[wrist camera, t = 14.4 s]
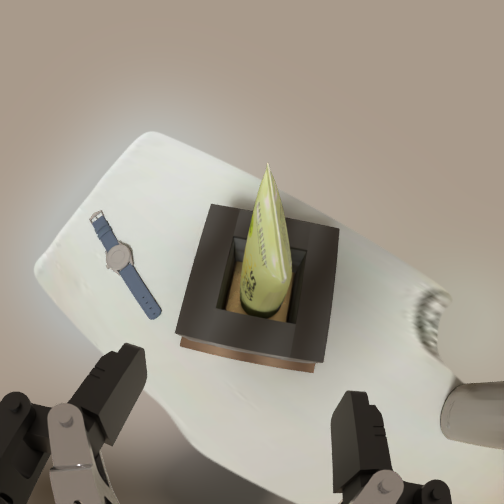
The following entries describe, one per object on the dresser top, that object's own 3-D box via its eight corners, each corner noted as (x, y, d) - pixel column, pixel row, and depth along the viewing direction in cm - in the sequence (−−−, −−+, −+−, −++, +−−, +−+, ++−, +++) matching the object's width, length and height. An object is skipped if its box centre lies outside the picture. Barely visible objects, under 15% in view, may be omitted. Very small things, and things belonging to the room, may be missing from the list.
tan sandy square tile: (292, 274, 36) (293, 272, 35) (283, 330, 33) (284, 329, 32) (237, 263, 36) (237, 261, 35) (224, 318, 34) (224, 317, 33)
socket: (327, 253, 39) (348, 222, 31) (310, 372, 33) (331, 374, 25) (212, 230, 40) (204, 194, 31) (182, 346, 34) (162, 340, 25)
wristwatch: (104, 206, 41) (102, 203, 40) (169, 308, 36) (167, 307, 35) (84, 222, 40) (81, 219, 39) (144, 327, 35) (142, 326, 34)
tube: (226, 295, 34) (206, 210, 16) (256, 266, 35) (268, 159, 17) (262, 329, 32) (285, 280, 14) (291, 297, 34) (343, 216, 16)
